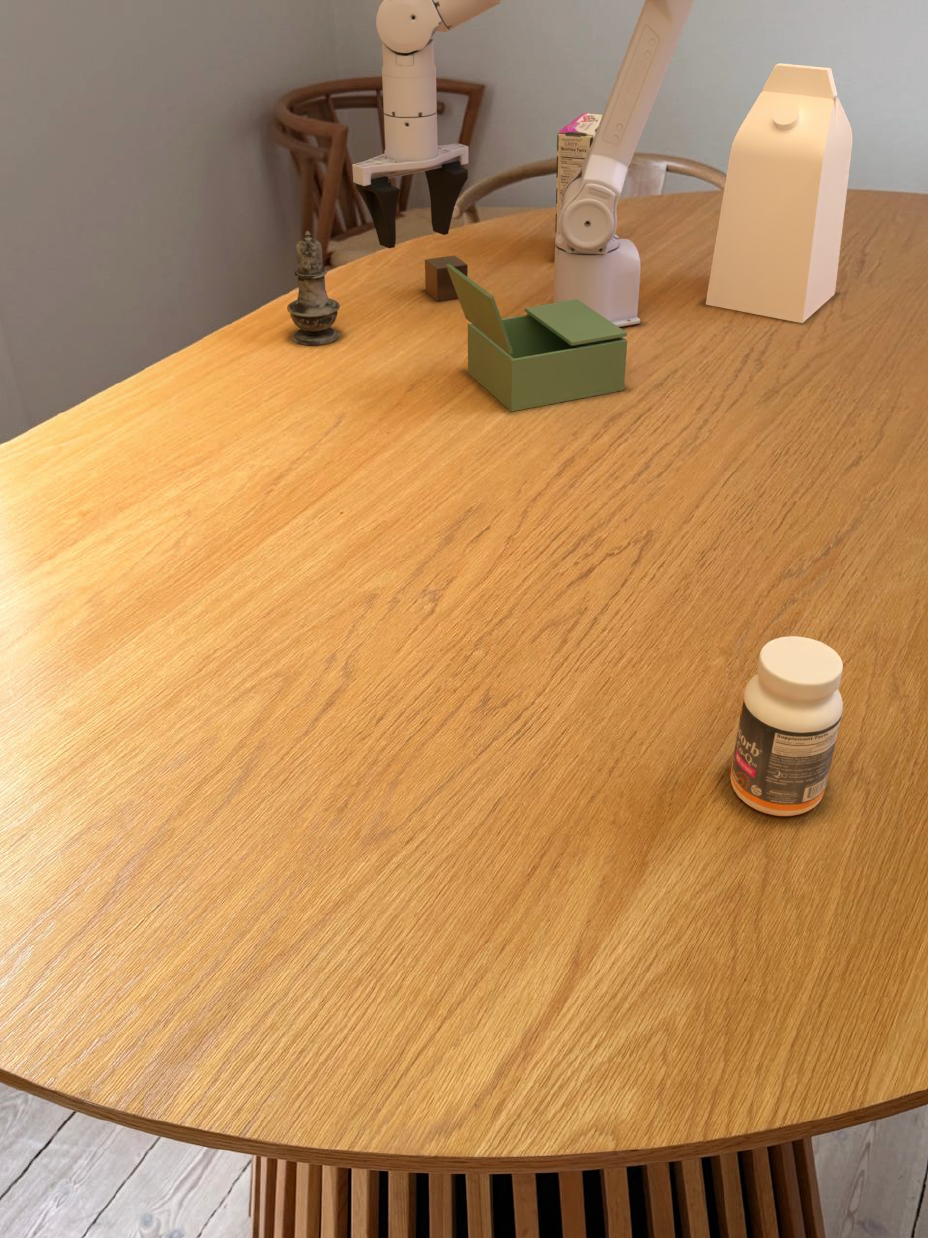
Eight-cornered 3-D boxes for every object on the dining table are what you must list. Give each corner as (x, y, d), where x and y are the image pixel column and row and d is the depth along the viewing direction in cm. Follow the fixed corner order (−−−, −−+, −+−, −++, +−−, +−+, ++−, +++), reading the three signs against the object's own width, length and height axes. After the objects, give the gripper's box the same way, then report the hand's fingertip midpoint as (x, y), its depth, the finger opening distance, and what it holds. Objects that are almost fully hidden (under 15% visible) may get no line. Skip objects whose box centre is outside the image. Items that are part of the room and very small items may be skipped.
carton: (511, 411, 121) (512, 352, 117) (467, 372, 129) (467, 316, 125) (624, 390, 125) (628, 332, 121) (574, 353, 133) (577, 298, 129)
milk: (834, 294, 148) (873, 62, 134) (802, 323, 140) (840, 80, 125) (741, 277, 153) (769, 53, 139) (705, 304, 145) (730, 69, 131)
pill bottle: (718, 761, 77) (737, 632, 71) (807, 755, 77) (832, 627, 72) (743, 824, 72) (765, 691, 67) (837, 817, 73) (867, 685, 67)
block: (455, 286, 151) (454, 254, 149) (467, 296, 148) (467, 264, 146) (425, 291, 150) (424, 259, 148) (437, 301, 147) (437, 268, 145)
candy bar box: (575, 237, 168) (581, 111, 159) (610, 241, 166) (618, 114, 157) (551, 261, 159) (555, 129, 150) (588, 266, 158) (595, 133, 148)
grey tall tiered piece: (345, 328, 140) (339, 222, 133) (336, 347, 135) (329, 238, 128) (295, 326, 140) (286, 221, 134) (284, 345, 135) (274, 237, 129)
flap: (513, 352, 117) (509, 354, 117) (469, 316, 125) (465, 318, 125) (493, 296, 113) (490, 298, 113) (449, 263, 121) (445, 265, 121)
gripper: (440, 97, 137) (442, 219, 144) (333, 115, 129) (341, 243, 137) (480, 107, 132) (480, 232, 140) (371, 127, 125) (378, 258, 132)
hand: (414, 239), depth 138 cm, fingers open, 7 cm apart
